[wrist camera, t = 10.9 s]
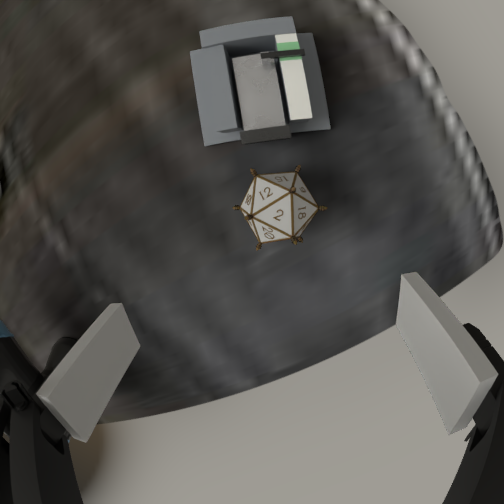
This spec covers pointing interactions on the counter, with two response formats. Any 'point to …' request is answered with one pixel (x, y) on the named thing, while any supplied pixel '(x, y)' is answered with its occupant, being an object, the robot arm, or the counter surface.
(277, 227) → the game die
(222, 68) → the gauge housing
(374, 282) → the counter surface
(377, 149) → the counter surface
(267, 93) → the block with dark end
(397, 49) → the counter surface
